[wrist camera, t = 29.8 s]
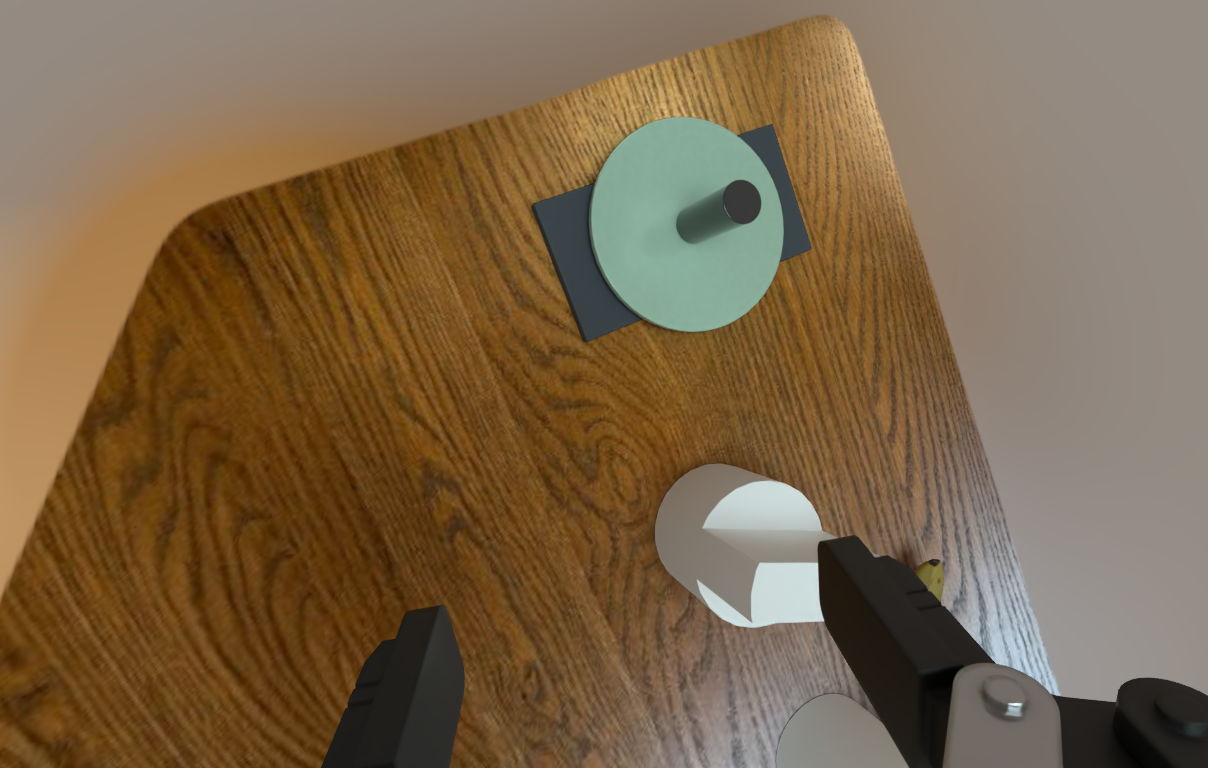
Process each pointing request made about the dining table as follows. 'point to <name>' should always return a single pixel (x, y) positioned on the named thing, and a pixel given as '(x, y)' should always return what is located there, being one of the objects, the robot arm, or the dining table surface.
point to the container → (836, 737)
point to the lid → (686, 224)
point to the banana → (932, 576)
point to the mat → (576, 260)
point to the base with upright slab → (742, 545)
